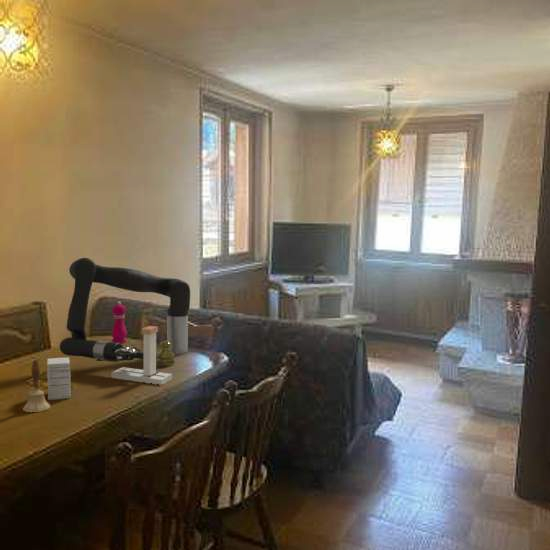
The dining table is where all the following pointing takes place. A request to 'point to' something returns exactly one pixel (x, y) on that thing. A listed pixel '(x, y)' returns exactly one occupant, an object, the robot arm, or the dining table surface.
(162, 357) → the brass knobbed piece
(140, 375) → the white scale plate
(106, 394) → the dining table surface
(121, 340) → the pepper mill
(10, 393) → the dining table surface
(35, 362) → the hand bell
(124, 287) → the robot arm
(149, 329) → the fader tab
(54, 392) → the supplement box
